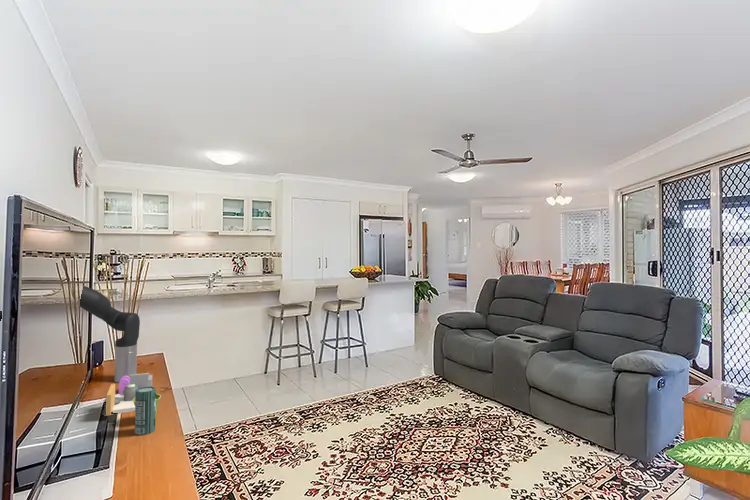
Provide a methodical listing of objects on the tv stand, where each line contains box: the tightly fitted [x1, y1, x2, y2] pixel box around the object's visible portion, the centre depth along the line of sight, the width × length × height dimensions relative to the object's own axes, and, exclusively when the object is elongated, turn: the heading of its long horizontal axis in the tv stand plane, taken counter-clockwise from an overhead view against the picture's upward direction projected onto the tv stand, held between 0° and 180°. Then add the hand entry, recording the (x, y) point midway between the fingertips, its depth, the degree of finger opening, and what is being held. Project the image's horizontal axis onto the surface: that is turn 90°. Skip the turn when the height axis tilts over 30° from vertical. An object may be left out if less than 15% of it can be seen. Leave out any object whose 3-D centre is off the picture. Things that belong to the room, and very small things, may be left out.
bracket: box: [118, 376, 130, 394], centre depth 184 cm, size 13×6×7 cm, turn 117°
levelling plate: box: [112, 372, 153, 414], centre depth 170 cm, size 21×18×10 cm
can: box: [134, 385, 157, 436], centre depth 144 cm, size 6×6×15 cm
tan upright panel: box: [105, 383, 120, 417], centre depth 160 cm, size 16×5×8 cm, turn 27°
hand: (68, 391), depth 150 cm, fingers closed
